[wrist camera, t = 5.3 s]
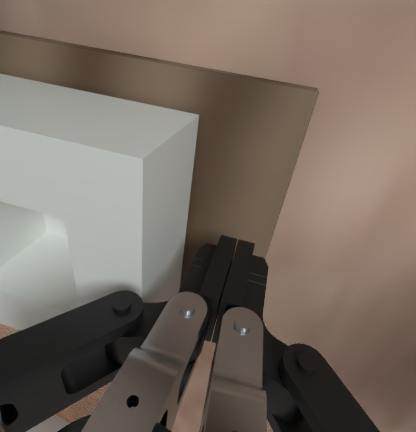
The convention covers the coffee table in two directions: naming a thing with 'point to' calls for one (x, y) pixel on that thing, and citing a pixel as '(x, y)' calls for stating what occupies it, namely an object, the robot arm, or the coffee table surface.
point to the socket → (88, 198)
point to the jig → (206, 134)
